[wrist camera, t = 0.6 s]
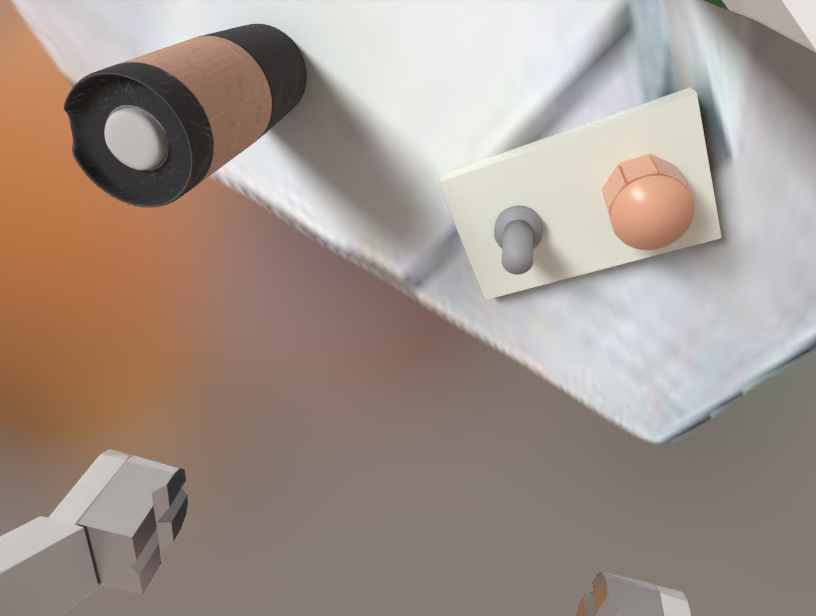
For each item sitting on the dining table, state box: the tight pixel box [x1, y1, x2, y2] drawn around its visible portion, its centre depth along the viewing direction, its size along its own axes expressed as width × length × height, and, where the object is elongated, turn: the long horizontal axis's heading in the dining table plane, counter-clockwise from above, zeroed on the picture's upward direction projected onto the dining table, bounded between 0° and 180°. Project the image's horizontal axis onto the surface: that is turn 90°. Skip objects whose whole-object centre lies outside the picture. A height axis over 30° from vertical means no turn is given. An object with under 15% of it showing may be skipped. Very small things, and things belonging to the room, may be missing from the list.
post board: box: [438, 87, 721, 300], centre depth 46 cm, size 20×12×8 cm, turn 113°
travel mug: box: [64, 24, 306, 207], centre depth 40 cm, size 8×8×20 cm
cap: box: [602, 154, 695, 250], centre depth 44 cm, size 6×6×5 cm
